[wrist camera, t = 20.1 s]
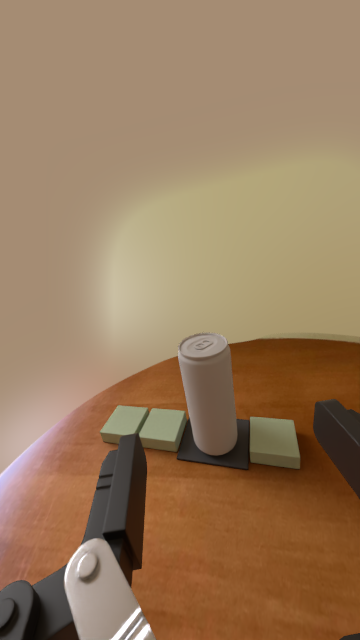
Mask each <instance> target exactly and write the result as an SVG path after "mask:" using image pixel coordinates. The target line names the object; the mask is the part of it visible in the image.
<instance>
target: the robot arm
mask: <svg viewBox="0 0 360 640" xmlns="http://www.w3.org/2000/svg"><path fill="white" fill-rule="evenodd" d="M313 429H314V433H315V436H316V438H317V440H318V442H319V443H320V445H321V446H322V447H323V449H324V450H325V452H326V453H327V454H328V456H329V457H330V459H331V460H332V461H333V463H334V464H335V465H336V467H337V468H338V470H339V471H340V472H341V474H342V475H343V477H344V478H345V479H346V481H347V482H348V483H349V485H350V486H351V488H352V489H353V490H354V492H355V493H356V495H357V496H358V497H359V499H360V414H359V413H357V412H355V411H354V410H352V409H350V410H346V409H345V408H344V407H343V406H342V405H341V404H340V403H339V402H338V401H337V400H335V399H331V400H325V401H320V402H316V404H315V412H314V424H313ZM146 480H147V462H146V456H145V453H144V449H143V446H142V443H141V439H140V436H139V434H138V433H134V434H128V435H123V436H121V437H120V441H119V446H118V450H114V451H110V452H109V453H108V455H107V456H106V458H105V460H104V461H103V463H102V466H101V470H100V474H99V479H98V482H97V486H96V491H95V495H94V499H93V503H92V507H91V511H90V515H89V519H88V523H87V527H86V531H85V535H84V538H83V541H82V543H81V545H80V547H79V548H78V549H77V550H76V551H75V553H74V554H73V556H72V557H71V559H70V561H69V562H68V563H67V564H66V565H65V566H64V567H62V568H61V569H59V570H58V571H56V572H54V573H53V574H51V575H49V576H48V577H46V578H44V579H43V580H41V581H39V582H37V583H36V584H34V585H32V586H31V585H30V583H29V582H27V581H24V580H19V581H15V582H13V583H11V584H9V585H8V586H6V587H5V588H3V589H2V590H1V591H0V640H156V638H155V636H154V634H153V632H152V630H151V628H150V626H149V624H148V622H147V620H146V618H145V616H144V614H143V612H142V610H141V608H140V606H139V604H138V602H137V600H136V598H135V596H134V594H133V592H132V590H131V584H132V572H133V570H137V569H142V551H143V533H144V515H145V497H146ZM340 640H360V633H358V634H353V635H348V636H344V637H342V638H341V639H340Z"/></svg>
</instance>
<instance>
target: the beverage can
mask: <svg viewBox="0 0 360 640" xmlns="http://www.w3.org/2000/svg"><path fill="white" fill-rule="evenodd" d="M178 351H179V352H178V359H179V364H180V369H181V374H182V380H183V385H184V390H185V395H186V400H187V406H188V411H189V416H190V421H191V427H192V432H193V437H194V441H195V444H196V446H197V447H198V448H199V449H200V450H201V451H203V452H204V453H207V454H209V455H216V456H218V455H223V454H225V453H228V452H229V451H230V450H232V449H233V448H234V446H235V444H236V441H237V435H238V433H237V423H236V412H235V402H234V390H233V378H232V366H231V355H230V348H229V346H228V342H227V339H226V338H225V337H224V336H222V335H220V334H216V333H199V334H194V335H191V336H189V337H187V338H185V339H183V340H182V341H181V342H180V343H179V346H178Z"/></svg>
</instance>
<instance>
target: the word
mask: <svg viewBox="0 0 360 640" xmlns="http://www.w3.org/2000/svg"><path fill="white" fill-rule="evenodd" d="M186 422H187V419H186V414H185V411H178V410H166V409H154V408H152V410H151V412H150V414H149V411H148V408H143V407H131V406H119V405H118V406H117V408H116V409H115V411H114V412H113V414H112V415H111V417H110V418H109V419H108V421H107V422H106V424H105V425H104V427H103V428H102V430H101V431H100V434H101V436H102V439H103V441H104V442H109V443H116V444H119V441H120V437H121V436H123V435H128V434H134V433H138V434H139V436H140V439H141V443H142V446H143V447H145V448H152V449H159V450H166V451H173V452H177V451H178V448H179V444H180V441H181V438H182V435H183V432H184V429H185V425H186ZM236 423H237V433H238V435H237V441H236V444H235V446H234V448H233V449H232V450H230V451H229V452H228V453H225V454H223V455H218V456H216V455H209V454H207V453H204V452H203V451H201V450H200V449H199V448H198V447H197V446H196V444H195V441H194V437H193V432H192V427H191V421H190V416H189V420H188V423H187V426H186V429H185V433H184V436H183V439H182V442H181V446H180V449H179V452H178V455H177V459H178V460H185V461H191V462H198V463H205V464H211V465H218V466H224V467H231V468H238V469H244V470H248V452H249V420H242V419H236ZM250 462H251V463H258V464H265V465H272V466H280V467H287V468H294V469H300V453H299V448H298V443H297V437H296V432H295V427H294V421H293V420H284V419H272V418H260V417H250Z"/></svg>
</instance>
